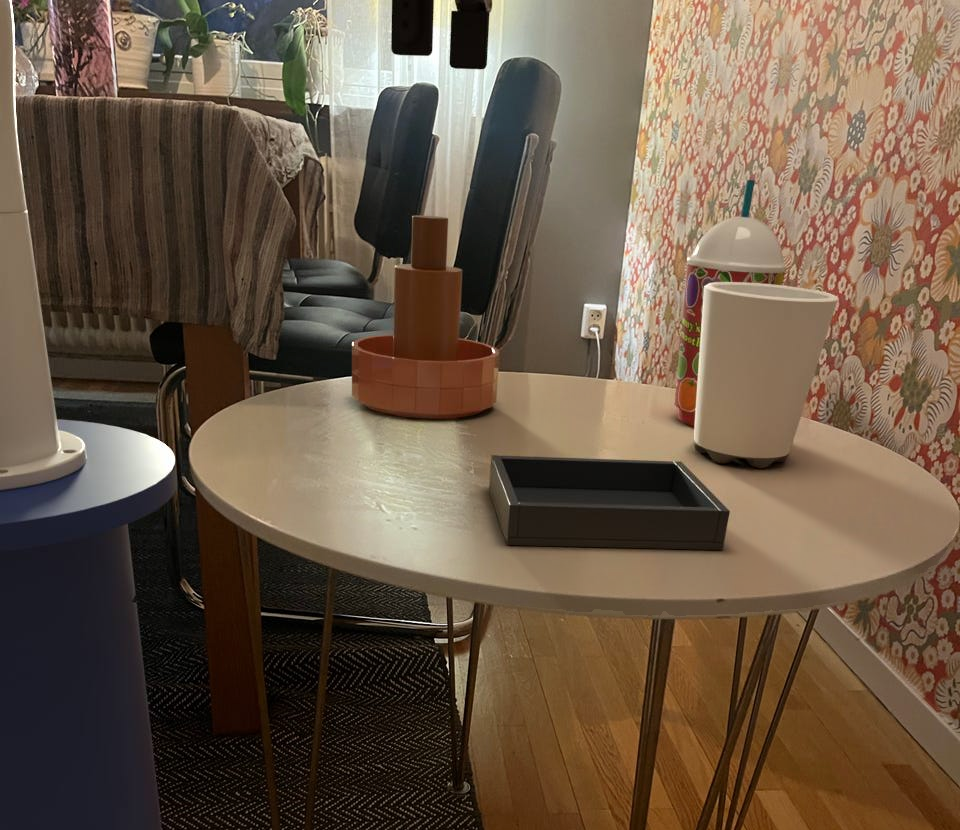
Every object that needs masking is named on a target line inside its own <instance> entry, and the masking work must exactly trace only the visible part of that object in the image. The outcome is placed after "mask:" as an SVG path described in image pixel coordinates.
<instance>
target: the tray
mask: <svg viewBox="0 0 960 830" xmlns="http://www.w3.org/2000/svg"><path fill="white" fill-rule="evenodd" d="M488 492H489V495H490V497H491V498H490V499H491V501H492V504H493V507H494V510H495V513H496V516H497V519H498V522H499V525H500V529H501V532H502V534H503V538H504V542H505V545H506V546H530V547H531V546H532V547H533V546H534V547H572V548H573V547H575V548H576V547H577V548H621V549H624V548H625V549H660V550H661V549H662V550H663V549H664V550H667V549H668V550H702V551H703V550H705V551H723V550H724V545H725V540H726V535H727V529H728V524H729V519H730V515H731V514H730V512H731V511H730V509H729V508H728V507H727V506H726V505H725V504H723V502H722V501H721V500H720V499H719V498H718V497H717V496H716V495H715V494H714V493H713V492H712V491H711V489H709V488H708V487H707V486H706V485H705V484H704V483H703V482H702V481H701V480H700V479H699V477H697V476H696V475H695V474H694V473H693V471H691V470H690V469H689V467H687V466H686V464H685V463H684V462H683V461H677V460H676V461H673V460H672V461H670V460H644V459H643V460H640V459H617V458H615V459H614V458H613V459H612V458H588V457H587V458H585V457H584V458H582V457H558V456H557V457H555V456H554V457H552V456H528V455H526V456H524V455H523V456H522V455H498V454H492V455H490V469H489V484H488Z"/></svg>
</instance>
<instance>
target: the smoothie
mask: <svg viewBox="0 0 960 830" xmlns="http://www.w3.org/2000/svg"><path fill="white" fill-rule="evenodd" d="M755 183H756V180H755V179H746V182H745V189H744V194H743V199H742V205H741V207H742V208H741V212H740V215H736V216H732V217H728V218H726V219H723V220H722V221H719V222H717V223H716V224H713V226H711V227H710V228H709V229H708V230H707V231H706V232H705V233H704V234H703V236H702V237H701V238H700V240H699V241H698V243H697V244H696V246H695V248H694V249H693V252H692V254H691V255H690V256H688V257H687V258H686V264H687V269H686V275H685V278H686V279H685V286H684V298H683V309H682V320H681V331H680V342H679V352H678V363H677V374H676V383H675V384H676V386H675V395H674V396H675V397H674V406H675V407H677V408H678V420H679V421H681V422H682V423H683V424H686V425H688V426H691V427H694V426H695V411H696V397H697V382H698V367H699V353H700V338H701V323H702V309H703V294H704V286H705V285H707V284H709V283H714V282H743V283H760V284H772V285H782V286H784V285H783V284H784V280H785V275H786V273H787V270H788V265H787V264H785V261H784V254H783V251H782V246H781V244H780V241H779V239H778V237H777V235H776V234H775V232H774V230H772V229H771V228H770V227H769V225H767V224H766V223H764V222H763V221H761V220H759V219H758V218H756V217H752V216H750V213H751V212H750V211H751V205H752V201H753V200H752V199H753V196H754V195H753V193H754V190H755V189H754V187H755Z"/></svg>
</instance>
